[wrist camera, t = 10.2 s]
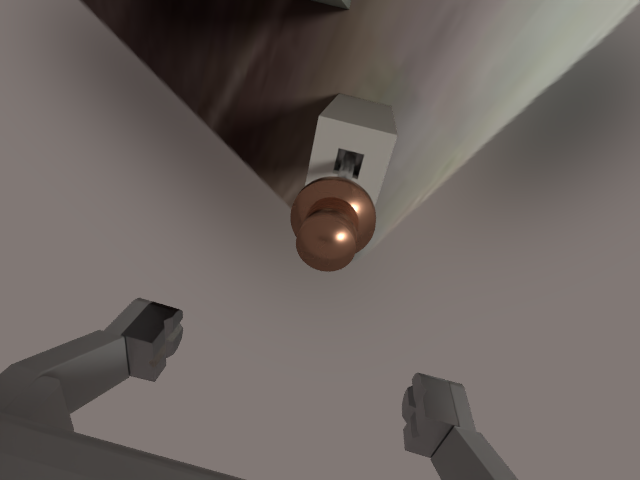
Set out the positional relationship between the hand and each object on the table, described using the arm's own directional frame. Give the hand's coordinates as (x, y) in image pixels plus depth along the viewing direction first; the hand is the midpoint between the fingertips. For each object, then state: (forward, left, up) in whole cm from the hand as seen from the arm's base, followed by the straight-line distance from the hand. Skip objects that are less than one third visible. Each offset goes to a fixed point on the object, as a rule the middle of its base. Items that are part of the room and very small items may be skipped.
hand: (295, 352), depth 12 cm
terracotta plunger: (0, 0, -26) cm, 26 cm away
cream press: (0, 0, -39) cm, 39 cm away
